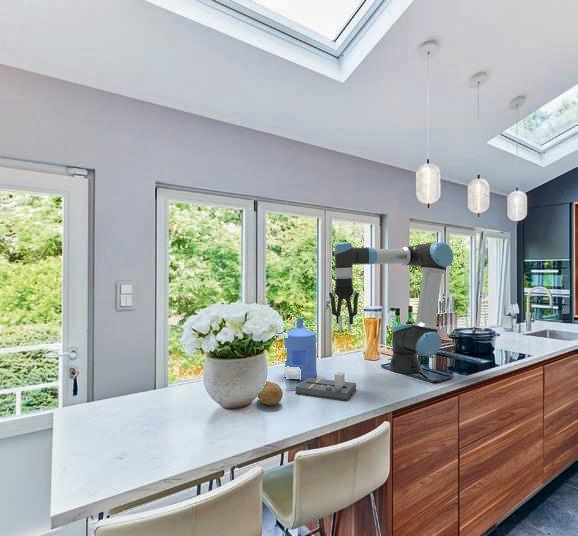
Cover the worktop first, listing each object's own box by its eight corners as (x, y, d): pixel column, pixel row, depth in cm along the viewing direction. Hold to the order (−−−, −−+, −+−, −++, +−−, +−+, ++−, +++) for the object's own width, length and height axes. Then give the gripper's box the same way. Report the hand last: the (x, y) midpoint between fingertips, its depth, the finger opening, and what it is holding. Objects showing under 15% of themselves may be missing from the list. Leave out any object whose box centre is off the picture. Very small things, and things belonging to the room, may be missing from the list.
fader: (344, 390, 151) (344, 372, 151) (341, 393, 148) (341, 375, 148) (337, 389, 153) (337, 371, 153) (334, 392, 149) (334, 374, 149)
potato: (273, 396, 149) (273, 376, 149) (288, 407, 136) (288, 386, 136) (251, 400, 144) (250, 380, 145) (264, 412, 132) (264, 390, 132)
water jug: (300, 369, 187) (299, 316, 187) (323, 375, 176) (322, 318, 176) (278, 376, 176) (277, 319, 176) (301, 383, 165) (300, 322, 165)
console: (356, 390, 154) (355, 379, 154) (346, 401, 142) (346, 389, 142) (308, 384, 164) (308, 374, 164) (295, 393, 151) (295, 383, 151)
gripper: (364, 277, 158) (365, 330, 158) (328, 277, 165) (329, 329, 165) (360, 278, 152) (361, 333, 152) (323, 278, 159) (324, 331, 158)
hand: (344, 331), depth 158 cm, fingers open, 3 cm apart
